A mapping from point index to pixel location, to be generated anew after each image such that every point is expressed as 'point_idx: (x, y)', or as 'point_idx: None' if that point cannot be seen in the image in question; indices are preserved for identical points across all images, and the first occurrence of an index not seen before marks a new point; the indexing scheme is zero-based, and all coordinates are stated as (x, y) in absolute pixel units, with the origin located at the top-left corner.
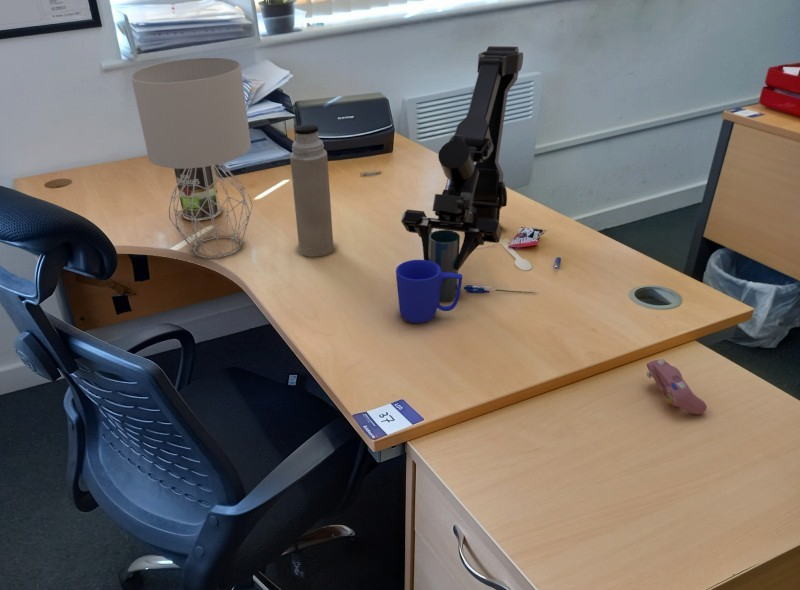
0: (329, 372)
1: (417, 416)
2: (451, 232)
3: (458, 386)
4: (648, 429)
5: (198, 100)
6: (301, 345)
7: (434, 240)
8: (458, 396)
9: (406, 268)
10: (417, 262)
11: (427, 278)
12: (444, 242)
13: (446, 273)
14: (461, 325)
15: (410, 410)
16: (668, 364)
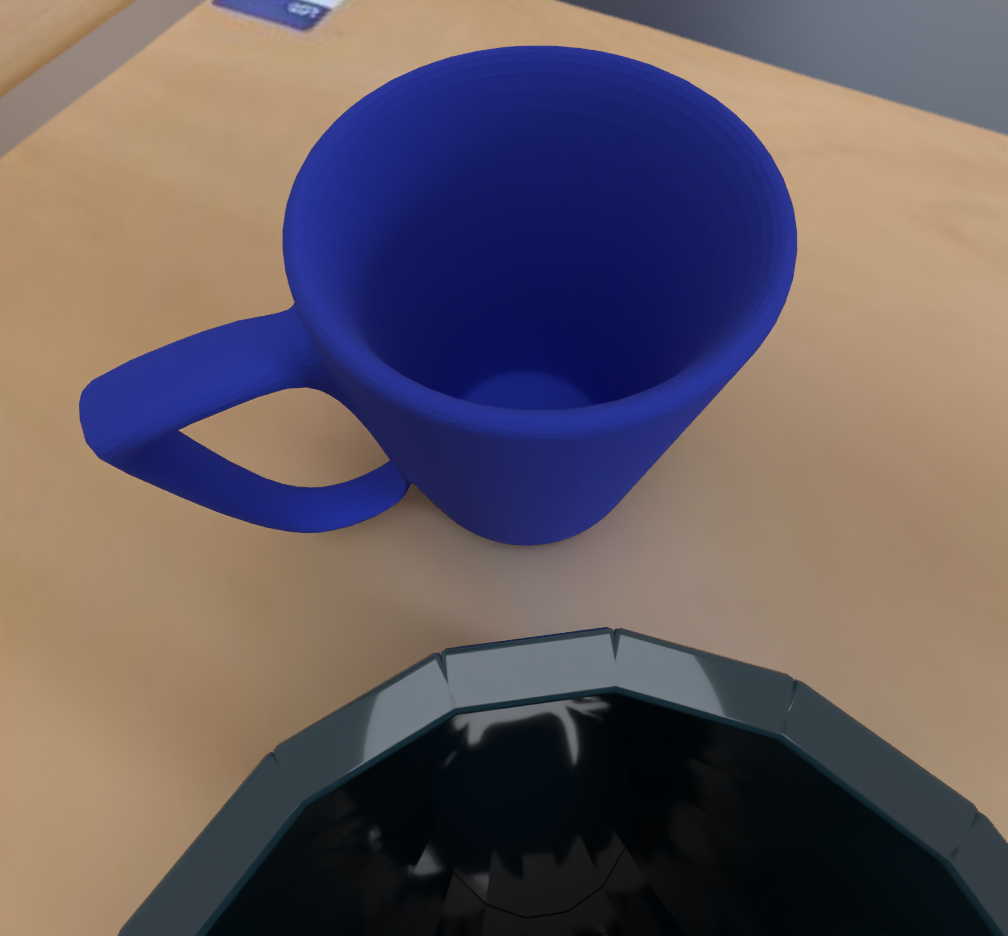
0: (593, 25)
1: (233, 4)
2: None
3: (150, 137)
4: None
5: None
6: (798, 76)
7: (709, 713)
8: (137, 103)
9: (725, 305)
10: (675, 376)
11: (354, 106)
12: (375, 732)
13: (245, 343)
14: None
15: (263, 11)
16: None
